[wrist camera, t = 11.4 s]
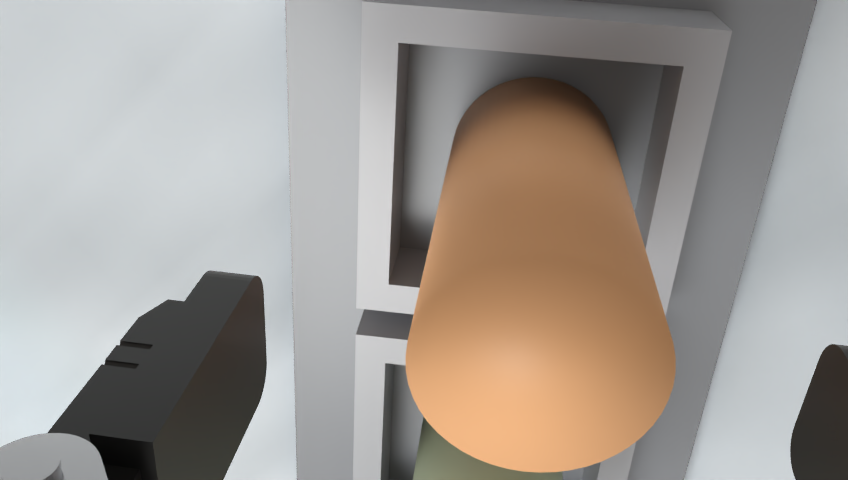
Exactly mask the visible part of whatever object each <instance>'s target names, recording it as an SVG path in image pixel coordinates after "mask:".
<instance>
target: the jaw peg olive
mask: <svg viewBox="0 0 848 480" xmlns="http://www.w3.org/2000/svg"><path fill="white" fill-rule="evenodd" d="M413 480H563V475H562V471H560V472H542V473H538V472H524V471H517V470H511V469H506V468H502V467H499V466H495V465H491V464H489V463H486V462H484V461H481V460H478V459H476V458H474V457H472V456H470V455H468V454H466V453H464V452H462V451H461V450H459V449H458V448H456V447H455V446H453V445H452V444H450V443H449V442H448V441H447V440H445V439H444V438H443V437H442V436H441V435H440V434H438V433H437V432H436V431H435V429H434V428H433V427H432V426H431V425H430V424H429V423H428V422H427V420H426V419H425V417H424V416H423V422H422V428H421V434H420V440H419V446H418V452H417V458H416V464H415V470H414V475H413Z"/></svg>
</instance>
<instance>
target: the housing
mask: <svg viewBox="0 0 848 480" xmlns="http://www.w3.org/2000/svg"><path fill="white" fill-rule="evenodd" d="M816 3H817V0H285V11H286V52H287V93H288V134H289V175H290V215H291V256H292V297H293V338H294V379H295V420H296V460H297V480H413V475H414V470H415V464H416V458H417V452H418V446H419V440H420V434H421V428H422V422H423V415H422V413H421V412H420V410H419V409H418V407H417V405H416V403H415V401H414V399H413V397H412V394H411V391H410V388H409V385H408V380H407V375H406V360H405V356H406V348H407V341H408V337H409V333H410V328H411V324H412V319H413V315H414V311H415V306H416V302H417V297H418V293H419V289H420V284H421V280H422V275H423V271H424V267H425V262H426V258H427V253H428V249H429V244H430V240H431V236H432V231H433V227H434V222H435V218H436V214H437V209H438V205H439V200H440V196H441V192H442V187H443V183H444V178H445V174H446V170H447V165H448V161H449V156H450V152H451V148H452V143H453V139H454V135H455V132H456V129H457V126H458V124H459V122H460V120H461V118H462V117H463V115H464V113H465V112H466V110H467V109H468V108H469V107H470V106H471V104H472V103H473V102H474V101H475V100H476V99H478V98H479V97H480V96H481V95H482V94H484V93H485V92H487V91H488V90H490V89H491V88H493V87H495V86H497V85H499V84H502V83H505V82H507V81H510V80H515V79H519V78H528V77H542V78H548V79H554V80H557V81H561V82H564V83H566V84H568V85H571V86H573V87H575V88H576V89H578V90H579V91H581V92H583V93H584V94H585V95H586V96H587V97H589V98H590V99H591V100H592V101H593V102H594V103H595V104H596V106H597V107H598V108H599V110H600V111H601V112H602V114H603V115H604V117H605V119H606V121H607V123H608V126H609V129H610V132H611V135H612V139H613V142H614V145H615V149H616V152H617V155H618V159H619V162H620V166H621V169H622V172H623V176H624V179H625V182H626V186H627V189H628V192H629V196H630V199H631V202H632V206H633V209H634V213H635V216H636V219H637V223H638V226H639V229H640V233H641V236H642V239H643V243H644V246H645V249H646V253H647V256H648V259H649V263H650V266H651V270H652V273H653V276H654V280H655V283H656V286H657V290H658V293H659V296H660V300H661V303H662V306H663V310H664V313H665V317H666V320H667V323H668V327H669V330H670V333H671V337H672V340H673V344H674V350H675V356H676V373H675V379H674V385H673V389H672V392H671V394H670V397H669V400H668V402H667V404H666V406H665V408H664V410H663V412H662V414H661V415H660V416H659V418H658V419H657V421H656V422H655V423H654V425H653V426H652V427H651V428H650V429H649V430H648V431H647V432H646V433H645V434H644V435H643V436H642V437H641V438H640V439H639V440H637V441H636V442H635V443H634V444H632V445H631V446H630V447H628V448H626V449H625V450H623V451H622V452H620V453H618V454H617V455H615V456H613V457H610V458H608V459H606V460H604V461H602V462H599V463H596V464H593V465H590V466H587V467H583V468H578V469H574V470H568V471H562V475H563V480H684V477H685V473H686V470H687V466H688V463H689V459H690V455H691V452H692V448H693V445H694V441H695V438H696V434H697V430H698V427H699V423H700V420H701V416H702V412H703V409H704V405H705V402H706V398H707V394H708V391H709V387H710V384H711V380H712V376H713V373H714V369H715V366H716V362H717V358H718V355H719V351H720V348H721V344H722V340H723V337H724V333H725V330H726V326H727V323H728V319H729V315H730V312H731V308H732V305H733V301H734V297H735V294H736V290H737V287H738V283H739V279H740V276H741V272H742V269H743V265H744V261H745V258H746V254H747V251H748V247H749V243H750V240H751V236H752V233H753V229H754V225H755V222H756V218H757V215H758V211H759V208H760V204H761V200H762V197H763V193H764V190H765V186H766V182H767V179H768V175H769V172H770V168H771V164H772V161H773V157H774V154H775V150H776V146H777V143H778V139H779V136H780V132H781V128H782V125H783V121H784V118H785V114H786V110H787V107H788V103H789V100H790V96H791V93H792V89H793V85H794V82H795V78H796V75H797V71H798V67H799V64H800V60H801V57H802V53H803V49H804V46H805V42H806V39H807V35H808V31H809V28H810V24H811V21H812V17H813V13H814V10H815V6H816Z"/></svg>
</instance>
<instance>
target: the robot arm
mask: <svg viewBox="0 0 848 480" xmlns="http://www.w3.org/2000/svg"><path fill="white" fill-rule="evenodd" d="M266 365H267V362H266V338H265V315H264V293H263V284H262V281H261V279H260V277H259V276H252V275H243V274H235V273H226V272H217V271H207V272H206V273H205V274H204V275H203V277H202V278H201V279H200V281H199V282H198V283H197V285H196V286H195V288H194V289H193V290H192V292H191V293H190V294H189V296H188V297H187V299H186V300H185V301H184V302H183V301H175V300H167V301H165V302H163V303H162V304H160V305H159V306H157V307H155V308H154V309H152V310H150V311H149V312H147V313H146V314H144V315H142V316H141V317H139V318H138V319H137V320H136V322H135V323H134V324H133V325H132V327H131V328H130V329H129V330H128V332H127V333H126V334H125V336H124V337H123V338H122V339H121V341H120V346H119V345H117V346H116V347H115V348H114V349H113V351H112V352H111V353H110V355H109V356H108V357H107V358H106V360H105V365H101V366H100V367H99V368H98V370H97V371H96V372H95V373H94V375H93V376H92V377H91V379H90V380H89V381H88V382H87V384H86V385H85V386H84V387H83V389H82V390H81V391H80V392H79V394H78V395H77V396H76V397H75V399H74V400H73V401H72V403H71V404H70V405H69V406H68V408H67V409H66V410H65V411H64V413H63V414H62V415H61V416H60V418H59V419H58V420H57V421H56V423H55V424H54V425H53V427H52V428H51V429H50V430H49V432H48V433H46V434H38V435H33V436H29V437H25V438H22V439H19V440H16V441H13V442H11V443H9V444H6V445H4V446H2V447H0V480H223V479H224V477H225V475H226V473H227V470H228V468H229V466H230V464H231V462H232V460H233V458H234V456H235V453H236V451H237V449H238V447H239V445H240V443H241V441H242V438H243V436H244V434H245V432H246V430H247V428H248V426H249V424H250V421H251V419H252V417H253V415H254V413H255V411H256V409H257V407H258V404H259V402H260V399H261V396H262V392H263V388H264V383H265V377H266ZM791 464H792V470H793V473H794V476H795V479H796V480H848V346H844V345H835V344H832V345H829V346H828V347H826V348H825V350H824V351H823V352H822V354H821V356H820V358H819V361H818V364H817V366H816V369H815V372H814V375H813V377H812V380H811V383H810V385H809V388H808V391H807V394H806V396H805V399H804V402H803V404H802V407H801V410H800V413H799V415H798V418H797V421H796V423H795V426H794V429H793V433H792V438H791Z"/></svg>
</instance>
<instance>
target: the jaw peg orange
mask: <svg viewBox="0 0 848 480" xmlns="http://www.w3.org/2000/svg"><path fill="white" fill-rule="evenodd" d="M405 360H406V375H407V380H408V385H409V388H410V391H411V394H412V397H413V399H414V401H415V403H416V405H417V407H418V409H419V410H420V412H421V413H422V415H423V416H424V417H425V419H426V420H427V422H428V423H429V424H430V425H431V426H432V427H433V428H434V429H435V431H436V432H437V433H438V434H440V435H441V436H442V437H443V438H444V439H445V440H447V441H448V442H449V443H450V444H452V445H453V446H455V447H456V448H458V449H459V450H461V451H462V452H464V453H466V454H468V455H470V456H472V457H474V458H476V459H478V460H481V461H484V462H486V463H489V464H491V465H495V466H499V467H502V468H506V469H511V470H517V471H524V472H538V473H542V472H560V471H568V470H574V469H578V468H583V467H587V466H590V465H593V464H596V463H599V462H602V461H604V460H606V459H608V458H610V457H613V456H615V455H617V454H618V453H620V452H622V451H623V450H625V449H626V448H628V447H630V446H631V445H632V444H634V443H635V442H636V441H637V440H639V439H640V438H641V437H642V436H643V435H644V434H645V433H646V432H647V431H648V430H649V429H650V428H651V427H652V426H653V425H654V423H655V422H656V421H657V419H658V418H659V416H660V415H661V414H662V412H663V410H664V408H665V406H666V404H667V402H668V400H669V397H670V394H671V392H672V389H673V385H674V379H675V373H676V356H675V350H674V344H673V340H672V337H671V333H670V330H669V327H668V323H667V320H666V317H665V313H664V310H663V306H662V303H661V300H660V296H659V293H658V290H657V286H656V283H655V280H654V276H653V273H652V270H651V266H650V263H649V259H648V256H647V253H646V249H645V246H644V243H643V239H642V236H641V233H640V229H639V226H638V223H637V219H636V216H635V213H634V209H633V206H632V202H631V199H630V196H629V192H628V189H627V186H626V182H625V179H624V176H623V172H622V169H621V166H620V162H619V159H618V155H617V152H616V149H615V145H614V142H613V139H612V135H611V132H610V129H609V126H608V123H607V121H606V119H605V117H604V115H603V114H602V112H601V111H600V110H599V108H598V107H597V106H596V104H595V103H594V102H593V101H592V100H591V99H590V98H589V97H587V96H586V95H585V94H584V93H583V92H581V91H579V90H578V89H576V88H575V87H573V86H571V85H568V84H566V83H564V82H561V81H557V80H554V79H548V78H542V77H528V78H519V79H515V80H510V81H507V82H505V83H502V84H499V85H497V86H495V87H493V88H491V89H490V90H488V91H487V92H485V93H484V94H482V95H481V96H480V97H479V98H478V99H476V100H475V101H474V102H473V103H472V104H471V106H470V107H469V108H468V109H467V110H466V112H465V113H464V115H463V117H462V118H461V120H460V122H459V124H458V126H457V129H456V132H455V135H454V139H453V143H452V148H451V152H450V156H449V161H448V165H447V170H446V174H445V178H444V183H443V187H442V192H441V196H440V200H439V205H438V209H437V214H436V218H435V222H434V227H433V231H432V236H431V240H430V244H429V249H428V253H427V258H426V262H425V267H424V271H423V275H422V280H421V284H420V289H419V293H418V297H417V302H416V306H415V311H414V315H413V319H412V324H411V328H410V333H409V337H408V341H407V348H406V356H405Z"/></svg>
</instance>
